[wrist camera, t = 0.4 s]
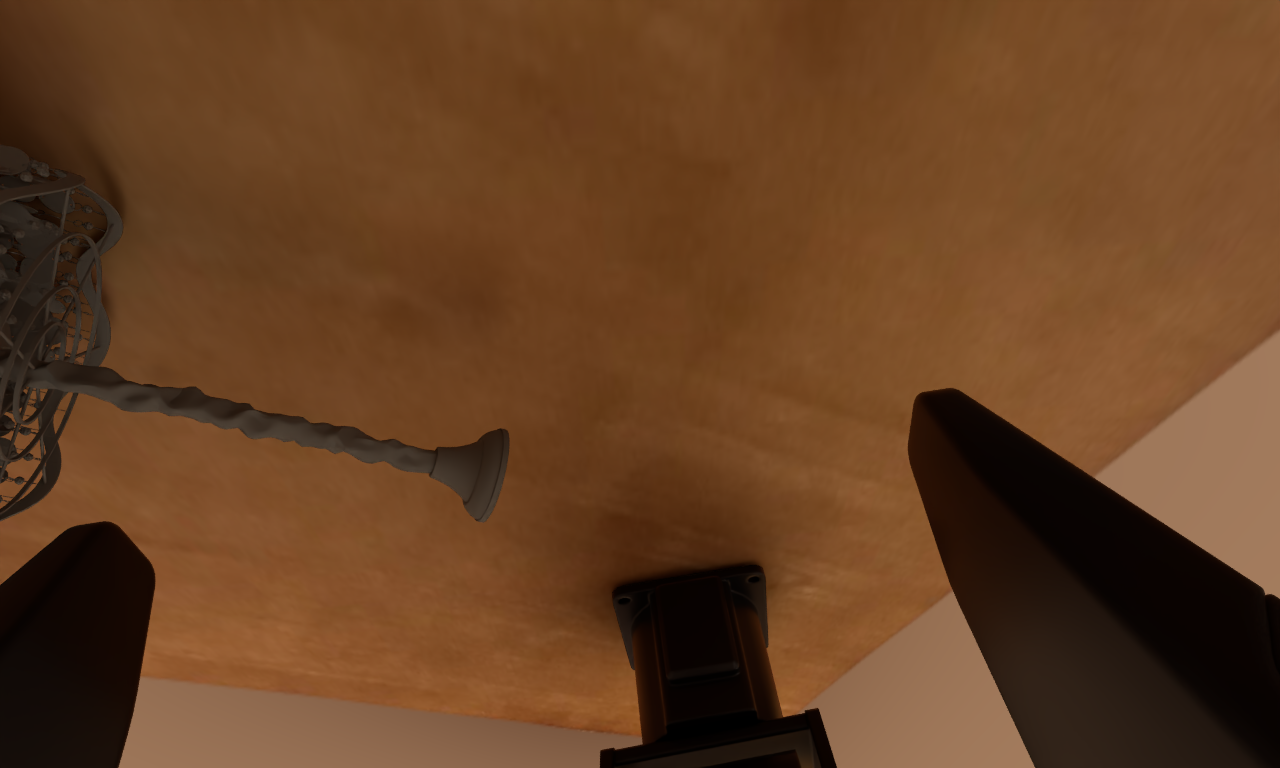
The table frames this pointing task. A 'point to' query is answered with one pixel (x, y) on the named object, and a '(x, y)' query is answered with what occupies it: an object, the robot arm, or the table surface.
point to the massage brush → (27, 362)
